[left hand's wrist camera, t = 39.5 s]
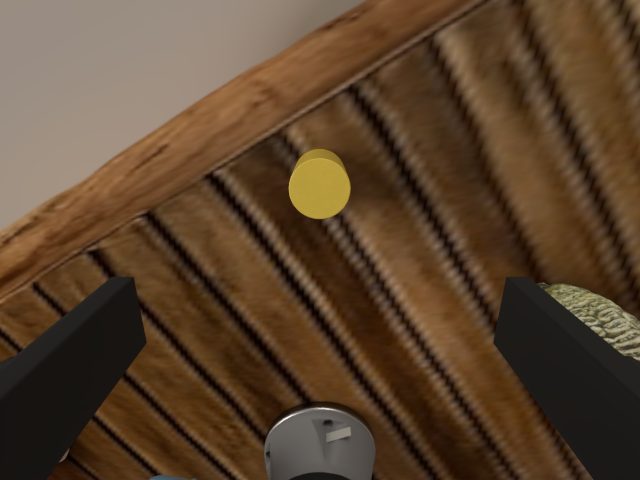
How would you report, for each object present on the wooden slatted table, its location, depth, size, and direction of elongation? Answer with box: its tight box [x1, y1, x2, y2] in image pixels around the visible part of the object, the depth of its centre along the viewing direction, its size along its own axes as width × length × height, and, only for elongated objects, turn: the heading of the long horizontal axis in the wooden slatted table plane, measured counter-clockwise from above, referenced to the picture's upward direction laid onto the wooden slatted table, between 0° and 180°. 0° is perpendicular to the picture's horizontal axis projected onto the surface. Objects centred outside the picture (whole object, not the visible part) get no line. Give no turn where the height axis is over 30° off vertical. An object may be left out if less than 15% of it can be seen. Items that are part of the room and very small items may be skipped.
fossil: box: [537, 283, 640, 361], centre depth 37 cm, size 9×18×15 cm, turn 26°
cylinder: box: [289, 149, 351, 219], centre depth 35 cm, size 5×5×7 cm
